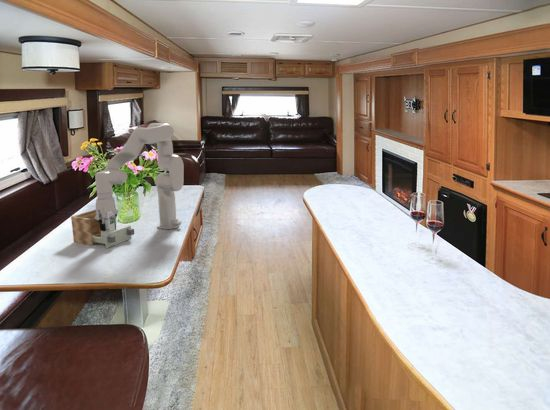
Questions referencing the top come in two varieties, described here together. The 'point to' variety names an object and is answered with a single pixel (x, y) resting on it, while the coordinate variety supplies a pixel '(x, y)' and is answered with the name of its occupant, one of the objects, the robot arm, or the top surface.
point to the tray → (115, 236)
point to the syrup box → (109, 224)
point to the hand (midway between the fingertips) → (108, 228)
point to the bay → (85, 228)
